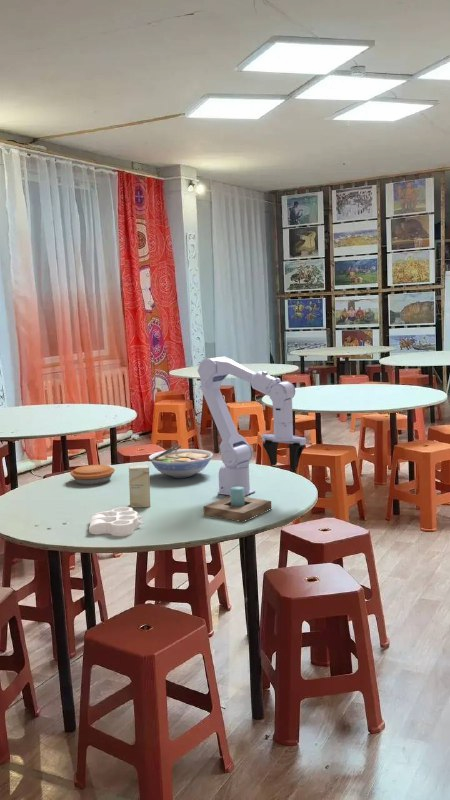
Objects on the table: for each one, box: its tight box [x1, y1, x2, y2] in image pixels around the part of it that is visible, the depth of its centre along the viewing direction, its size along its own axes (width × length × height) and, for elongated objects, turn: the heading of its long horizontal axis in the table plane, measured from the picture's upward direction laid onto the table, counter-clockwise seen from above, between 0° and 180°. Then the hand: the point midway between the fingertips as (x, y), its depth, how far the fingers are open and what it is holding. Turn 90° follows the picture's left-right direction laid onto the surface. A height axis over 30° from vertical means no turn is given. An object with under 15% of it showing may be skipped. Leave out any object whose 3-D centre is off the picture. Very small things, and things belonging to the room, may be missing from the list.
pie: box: [69, 464, 116, 486], centre depth 252 cm, size 15×16×5 cm
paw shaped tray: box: [88, 506, 144, 537], centre depth 198 cm, size 3×18×15 cm
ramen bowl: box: [148, 445, 214, 479], centre depth 255 cm, size 25×23×8 cm
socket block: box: [203, 495, 273, 522], centre depth 208 cm, size 14×14×2 cm
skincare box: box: [128, 464, 151, 509], centre depth 218 cm, size 6×4×12 cm
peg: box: [230, 487, 246, 508], centre depth 207 cm, size 4×4×7 cm
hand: (284, 466), depth 217 cm, fingers open, 7 cm apart
